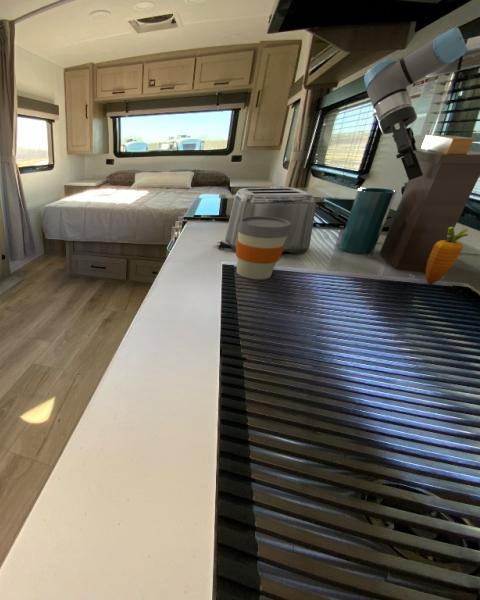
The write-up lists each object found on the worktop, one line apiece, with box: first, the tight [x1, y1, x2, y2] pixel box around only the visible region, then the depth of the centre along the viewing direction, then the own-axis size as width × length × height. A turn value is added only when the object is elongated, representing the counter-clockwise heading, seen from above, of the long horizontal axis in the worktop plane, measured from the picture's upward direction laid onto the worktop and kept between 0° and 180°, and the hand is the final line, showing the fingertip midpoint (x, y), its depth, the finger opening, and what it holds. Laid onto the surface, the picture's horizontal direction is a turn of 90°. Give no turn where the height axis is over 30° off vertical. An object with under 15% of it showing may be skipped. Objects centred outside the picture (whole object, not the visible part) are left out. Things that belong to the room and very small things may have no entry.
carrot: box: [425, 227, 469, 285], centre depth 81 cm, size 5×5×15 cm
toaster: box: [216, 187, 320, 255], centre depth 110 cm, size 17×30×19 cm, turn 81°
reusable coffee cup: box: [235, 216, 291, 280], centre depth 92 cm, size 13×13×15 cm
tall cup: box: [338, 187, 397, 256], centre depth 104 cm, size 9×9×19 cm
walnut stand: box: [379, 149, 480, 273], centre depth 91 cm, size 16×10×30 cm, turn 156°
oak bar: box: [421, 134, 475, 154], centre depth 88 cm, size 24×4×4 cm, turn 149°
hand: (420, 182), depth 93 cm, fingers open, 13 cm apart
